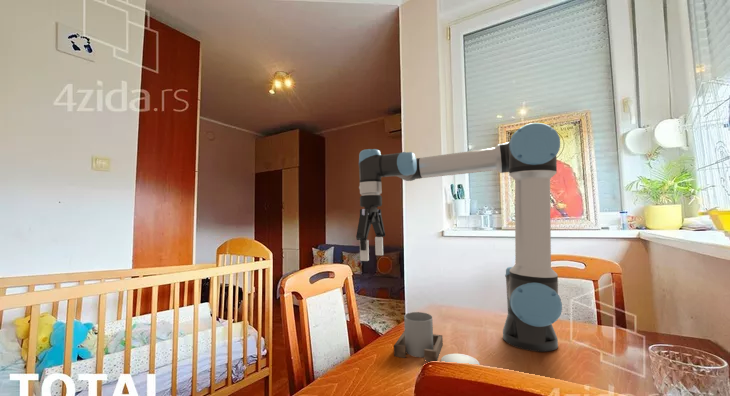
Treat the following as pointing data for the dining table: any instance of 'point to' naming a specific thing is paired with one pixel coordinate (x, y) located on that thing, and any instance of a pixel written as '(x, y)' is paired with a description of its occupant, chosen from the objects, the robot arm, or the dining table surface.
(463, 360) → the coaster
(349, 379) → the dining table surface
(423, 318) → the cup
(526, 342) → the robot arm
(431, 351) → the pocket holder
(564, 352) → the dining table surface
